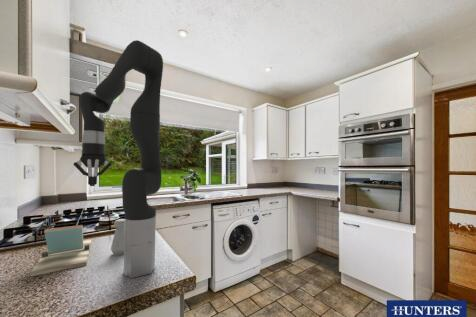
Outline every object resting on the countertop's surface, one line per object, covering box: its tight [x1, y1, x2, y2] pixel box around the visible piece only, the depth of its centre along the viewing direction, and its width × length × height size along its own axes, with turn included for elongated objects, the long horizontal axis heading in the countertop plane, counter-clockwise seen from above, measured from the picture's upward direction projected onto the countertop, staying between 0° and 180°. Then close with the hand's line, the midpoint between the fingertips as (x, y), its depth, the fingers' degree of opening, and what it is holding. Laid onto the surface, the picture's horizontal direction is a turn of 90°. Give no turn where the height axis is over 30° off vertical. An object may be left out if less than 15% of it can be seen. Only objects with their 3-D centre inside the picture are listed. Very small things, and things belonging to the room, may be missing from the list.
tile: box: [44, 224, 84, 254], centre depth 74 cm, size 13×10×1 cm
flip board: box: [29, 238, 93, 277], centre depth 77 cm, size 26×14×3 cm, turn 32°
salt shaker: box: [110, 218, 125, 256], centre depth 80 cm, size 6×6×13 cm
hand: (92, 185), depth 82 cm, fingers closed
